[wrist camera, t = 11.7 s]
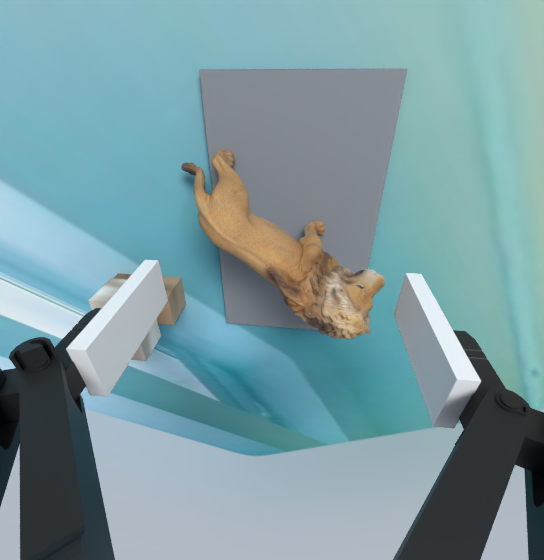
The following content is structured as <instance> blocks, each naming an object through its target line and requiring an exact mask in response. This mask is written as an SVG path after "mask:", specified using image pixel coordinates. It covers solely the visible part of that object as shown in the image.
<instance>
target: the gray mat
mask: <svg viewBox="0 0 544 560" xmlns="http://www.w3.org/2000/svg"><path fill="white" fill-rule="evenodd" d="M199 72H200V81H201V90H202V99H203V108H204V118H205V127H206V136H207V145H208V154H209V163H210V173H211V182H212V191H213V190H214V188H215V187H216V185H217V184H218V181H219V177H218V173H217V170H216V169H215V168H214V167H213V166H212V164H211V162H212V159H213V157H214V155H215V154H216V153H217V152H218V151H220V150H223V149H225V150H229V151H231V152H232V153H233V155H234V158H235V165H234V167H232V169H233V170H234V171H235V172H236V173H237V174H238V176H239V177H240V178H241V180H242V181H243V184H244V186H245V188H246V191H247V193H248V196H249V206H250V210H251V212H252V213H253V214H254V215H255V216H257V217H260V218H264V219H266V220H268V221H270V222H272V223H273V224H275V225H277V226H278V227H280V228H281V229H282V230H284V231H285V232H287V233H288V234H289V235H290V236H292V237H293V238H294V239H295V240H296V241H297V242H299V240H300V239H301V238H302V237H304V236H305V234H304V228H305V227H306V226H307V225H308V224H309V223H310V222H314V221H322V222H323V224H324V226H325V230H324V234H323V235H321V236H320V239H321V242H322V246H323V250H324V252H327V253H328V254H330V255H331V256H332V257H334V258H335V259H336V260H337V262H338V264H339V266H342V267H344V268H348V269H349V270H350V271H352V273H353V274H355V273H356V272H358V271H361V270H362V269H368V265H369V260H370V255H371V250H372V245H373V239H374V234H375V229H376V224H377V219H378V214H379V209H380V204H381V199H382V194H383V189H384V184H385V179H386V174H387V169H388V164H389V159H390V154H391V149H392V144H393V139H394V134H395V129H396V124H397V119H398V113H399V108H400V103H401V98H402V93H403V88H404V83H405V78H406V73H407V69H234V70H199ZM219 255H220V265H221V274H222V283H223V292H224V301H225V311H226V320H227V323H233V324H246V325H259V326H271V327H284V328H296V329H309V330H319V329H317V328H314V327H313V326H310V325H308V324H307V323H306V322H305V321H304V320H302V319H301V318H300V317H298V316H296V315H295V314H294V311H293V310H291V309H290V308H289V307H288V306H287V305H286V303H285V301H284V296H283V295H282V293H281V292H280V291H279V289H278V288H277V287H276V286H275V285H273V284H272V283H271V282H269V281H268V280H267V279H265V278H264V277H263V276H261V275H260V274H259V273H257V272H256V271H255V270H253V269H252V268H251V267H250V266H248V265H247V264H246V263H244V262H243V261H242V260H240V259H239V258H237V257H236V256H234V255H232V254H230V253H228V252H226V251H224V250H222V249H220V248H219Z"/></svg>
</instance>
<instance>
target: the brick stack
mask: <svg viewBox="0 0 544 560" xmlns="http://www.w3.org/2000/svg"><path fill="white" fill-rule="evenodd" d="M131 275H132V274H117V275H116V276H115V277H114V278H113V279H110V280H109V281H108V282H107V283H106V284H105V285H104V286H103V287H102V288H101V289H100V290H99V291H98V292H97V293H96V294H95V295H94V296H93V297H92V298H91V299H90V300H89V303H90V306H91V308H92V310H93V309H95V308H103V307H104V305H105V304H106V303H107V302H108V301H109V300H110V299H111V298H112V296H113V295H114V294H115V293H116V292H117V291H118V290H119V289H120V287H121V286H122V285H123V284H124V283H125V282H126V281H127V280H128V278H129V277H130V276H131ZM162 278H163V282H164V286H165V290H166V295H167V299H168V301H167V303H166V304H165V306H164V308H163V309H162V311H161V312H160V314H159V316H158V317H157V319H156V320H155V322H154V324H153V325H152V327H151V328H150V330H149V332H148V333H147V335H146V336H145V338H144V340H143V341H142V343H141V344H140V346H139V348H138V349H137V351H136V352H135V354H134V356H133V357H132V359H131V360H139V361H146V360H147V359H148V357H149V355H150V354H151V352H152V350H153V349H154V347H155V345H156V344H157V342H158V340H159V339H160V337H161V333H160V330H159V326H158V323H159V324H171V325H174V324H175V322H176V321H177V319H178V317H179V315H180V314H181V312H182V310H183V308H184V307H185V305H186V301H185V296H184V291H183V286H182V281H181V278H177V277H162Z"/></svg>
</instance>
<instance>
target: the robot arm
mask: <svg viewBox="0 0 544 560" xmlns="http://www.w3.org/2000/svg"><path fill="white" fill-rule="evenodd" d="M167 301H168V299H167V295H166V290H165V286H164V282H163V278H162V274H161V269H160V265H159V261H157V260H144V262H143V263H142V264H141V265H140V266H139V267H138V268H137V269H136V271H135V272H134V273H133V274H132V275H131V276H130V277H129V278H128V280H127V281H126V282H125V283H124V284H123V285H122V286H121V287H120V289H119V290H118V291H117V292H116V293H115V294H114V295H113V296H112V298H111V299H110V300H109V301H108V302H107V303H106V304H105V305H104V307H103V308H95V309H93V310H92V311H90V312H89V313H87V314H86V315H85V316H84V317H83V318H82V319H81V320H80V321H79V322H78V324H76V325H75V326H74V327H73V329H72V330H71V331H70V332H69V333H68V334H67V335H66V336H65V337H64V338H63V339H62V340H61V341H60V342H59V344H58V345H57V346H56V347H55V348H54V346H53V344H52V343H51V341H50V339H48V338H45V337H38V338H34V339H30V340H28V341H25V342H23V343H21V344H20V345H18V346H17V347H16V348H15V349H14V350H13V351H12V352H11V353H10V356H9V358H10V360H11V361H12V363H13V364H14V366H15V367H16V368H15V369H9V370H3V371H2V370H1V369H0V506H1V502H2V499H3V496H4V493H5V490H6V486H7V483H8V480H9V476H10V473H11V470H12V467H13V463H14V460H15V457H16V453H17V450H18V447H19V444H20V560H115V558H114V553H113V548H112V543H111V538H110V533H109V528H108V523H107V518H106V513H105V508H104V503H103V498H102V493H101V488H100V483H99V478H98V473H97V469H96V463H95V458H94V453H93V448H92V443H91V438H90V433H89V428H88V423H87V419H86V413H85V408H84V403H83V399H82V397H81V395H80V393H81V392H82V391H83V389H84V388H85V387H86V388H87V390H88V392H89V394H90V395H93V396H104V397H108V395H109V394H110V392H111V391H112V389H113V387H114V386H115V384H116V383H117V381H118V379H119V378H120V376H121V375H122V373H123V371H124V370H125V368H126V367H127V365H128V364H129V362H130V360H131V359H132V357H133V356H134V354H135V352H136V351H137V349H138V348H139V346H140V344H141V343H142V341H143V340H144V338H145V336H146V335H147V333H148V332H149V330H150V328H151V327H152V325H153V324H154V322H155V320H156V319H157V317H158V316H159V314H160V312H161V311H162V309H163V308H164V306H165V304H166V303H167ZM394 316H395V319H396V322H397V325H398V328H399V330H400V333H401V336H402V339H403V342H404V345H405V348H406V350H407V353H408V356H409V359H410V362H411V365H412V367H413V370H414V373H415V376H416V379H417V382H418V385H419V387H420V390H421V393H422V396H423V399H424V402H425V405H426V407H427V410H428V413H429V416H430V419H431V422H432V424H433V426H434V427H444V428H455V426H456V424H457V423H458V421H459V419H460V421H461V424H462V426H463V428H464V431H463V432H462V434H461V435H460V437H459V439H458V440H457V442H456V443H455V447H454V448H453V451H452V452H451V454H450V456H449V458H448V460H447V461H446V463H445V465H444V467H443V469H442V471H441V472H440V474H439V476H438V478H437V480H436V482H435V484H434V485H433V487H432V489H431V491H430V493H429V495H428V496H427V498H426V500H425V502H424V504H423V505H422V507H421V509H420V511H419V513H418V515H417V517H416V518H415V520H414V522H413V524H412V526H411V528H410V530H409V531H408V533H407V535H406V537H405V539H404V540H403V542H402V544H401V546H400V548H399V550H398V551H397V553H396V555H395V557H394V559H393V560H480V559H481V556H482V553H483V551H484V548H485V545H486V542H487V540H488V537H489V534H490V531H491V529H492V525H493V523H494V520H495V518H496V515H497V512H498V509H499V507H500V504H501V501H502V498H503V495H504V493H505V490H506V487H507V485H508V482H509V479H510V476H511V474H512V470H513V468H514V465H517V466H520V467H522V468H525V488H526V510H527V532H528V554H529V560H544V413H543V412H540V411H537V410H535V409H532V408H530V406H529V404H528V403H527V402H526V401H525V400H524V399H523V398H522V397H520V396H519V395H517V394H516V393H514V392H512V391H509V390H507V389H506V388H505V386H504V385H503V383H502V382H501V380H500V378H499V377H498V375H497V374H496V372H495V370H494V369H493V367H492V366H491V364H490V362H489V361H488V360H487V359H486V356H485V354H484V353H483V352H482V350H481V348H480V346H479V345H478V343H477V342H476V340H475V339H474V338H473V337H471V336H470V335H469V334H468V333H467V332H465V331H454V330H452V328H451V326H450V325H449V323H448V321H447V319H446V317H445V316H444V314H443V312H442V310H441V308H440V307H439V305H438V303H437V301H436V300H435V298H434V296H433V294H432V292H431V291H430V289H429V287H428V285H427V283H426V282H425V280H424V278H423V276H422V275H421V274H413V273H406V274H405V277H404V281H403V284H402V288H401V291H400V295H399V299H398V302H397V306H396V309H395V313H394Z"/></svg>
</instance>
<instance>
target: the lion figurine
mask: <svg viewBox="0 0 544 560" xmlns="http://www.w3.org/2000/svg"><path fill="white" fill-rule="evenodd" d="M211 164H212V166H213V167H214V168H215V169H216V170H217V173H218V177H219V181H218V184H217V185H216V187H215V188H214V190H213V191H212V193H211V195H210V194H208V193H206V192H205V176H204V172H203V170H202V168H200V167H197V166H196V165H194V164H193V163H183V164H182V170H184V171H186V172H188V173H190V174H191V175H196V177H195V183H194V194H195V201H196V205H197V207H198V209H199V215H198V217H199V223H200V226H201V228H202V229H203V231H204V233H205V234H206V235H207V236H208V237H209V239H210V240H211V241H212V242H213V243H214V244H215V245H216V246H217V247H219V248H220V249H222V250H224V251H226V252H228V253H230V254H232V255H234V256H236V257H237V258H239V259H240V260H242V261H243V262H244V263H246V264H247V265H248V266H250V267H251V268H252V269H253V270H255V271H256V272H257V273H259V274H260V275H261V276H263V277H264V278H265V279H267V280H268V281H269V282H271V283H272V284H273V285H275V286H276V287H277V288H278V289H279V291H280V292H281V293H282V295H283V296H284V301H285V303H286V305H287V306H288V307H289V308H290V309H291V310H293V311H294V314H295V315H296V316H298V317H300V318H301V319H302V320H304V321H305V322H306V323H307V324H308V325H310V326H313V327H314V328H317V329H319V332H320V333H322V334H327V335H329V336H331V337H332V338H336V339H339V338H346V339H350V338H355V337H356V336H357V335H362V334H363V333H371V331H370V330H369V323H370V316H369V311H370V310H371V309H372V307H373V305H372V304H373V303H372V298H373V296H374V295H375V294H376V293H377V292H378V291H379V290H380V289H381V288H382V287H383V286H384V284H385V280H384V277H383V276H382V275H381V274H377V273H376V272H375V271H374V270H371V269H362V270H361V271H358V272H356V273H355V274H353V273H352V271H350V270H349V269H348V268H344V267H342V266H339V264H338V262H337V260H336V259H335V258H334V257H332V256H331V255H330V254H328V253H327V252H324V250H323V246H322V242H321V239H320V236H321V235H323V234H324V230H325V226H324V224H323V222H322V221H314V222H310V223H309V224H308V225H307V226H306V227H305V228H304V234H305V236H304V237H302V238H301V239H300V240H299V242H297V241H296V240H295V239H294V238H293V237H292V236H290V235H289V234H288V233H287V232H285V231H284V230H282V229H281V228H280V227H278V226H277V225H275V224H273V223H272V222H270V221H268V220H266V219H264V218H260V217H257V216H255V215H254V214H253V213H252V212H251V210H250V206H249V196H248V193H247V191H246V188H245V186H244V184H243V181H242V180H241V178H240V177H239V176H238V174H237V173H236V172H235V171H234V170H233V169H232V167H234V165H235V158H234V155H233V153H232V152H231V151H229V150H225V149H223V150H220V151H218V152H217V153H216V154H215V155H214V157H213V159H212V162H211Z"/></svg>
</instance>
